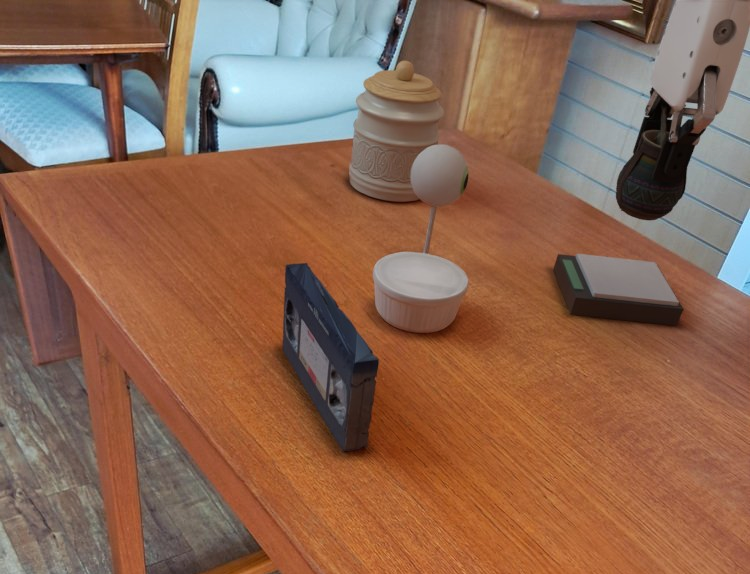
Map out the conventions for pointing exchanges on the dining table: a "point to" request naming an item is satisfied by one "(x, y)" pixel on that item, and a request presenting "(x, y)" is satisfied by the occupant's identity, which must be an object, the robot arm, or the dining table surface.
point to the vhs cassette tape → (329, 357)
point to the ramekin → (418, 291)
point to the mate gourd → (647, 179)
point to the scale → (616, 289)
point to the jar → (393, 132)
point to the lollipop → (438, 179)
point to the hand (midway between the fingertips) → (656, 166)
